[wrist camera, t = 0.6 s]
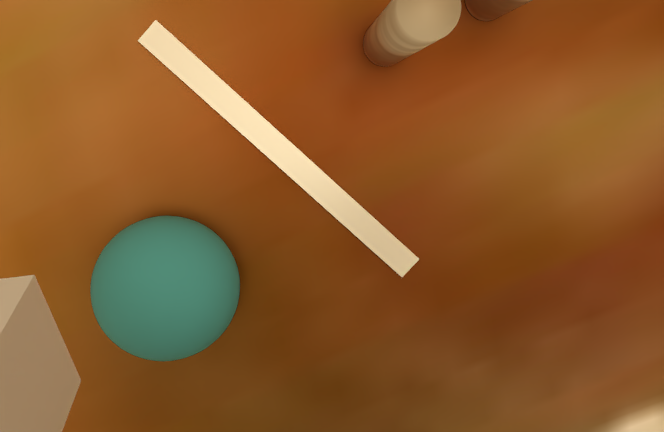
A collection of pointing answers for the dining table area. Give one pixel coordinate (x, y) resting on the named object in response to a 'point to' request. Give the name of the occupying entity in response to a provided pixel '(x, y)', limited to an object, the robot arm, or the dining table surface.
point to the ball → (165, 288)
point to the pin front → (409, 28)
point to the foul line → (276, 147)
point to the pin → (492, 8)
